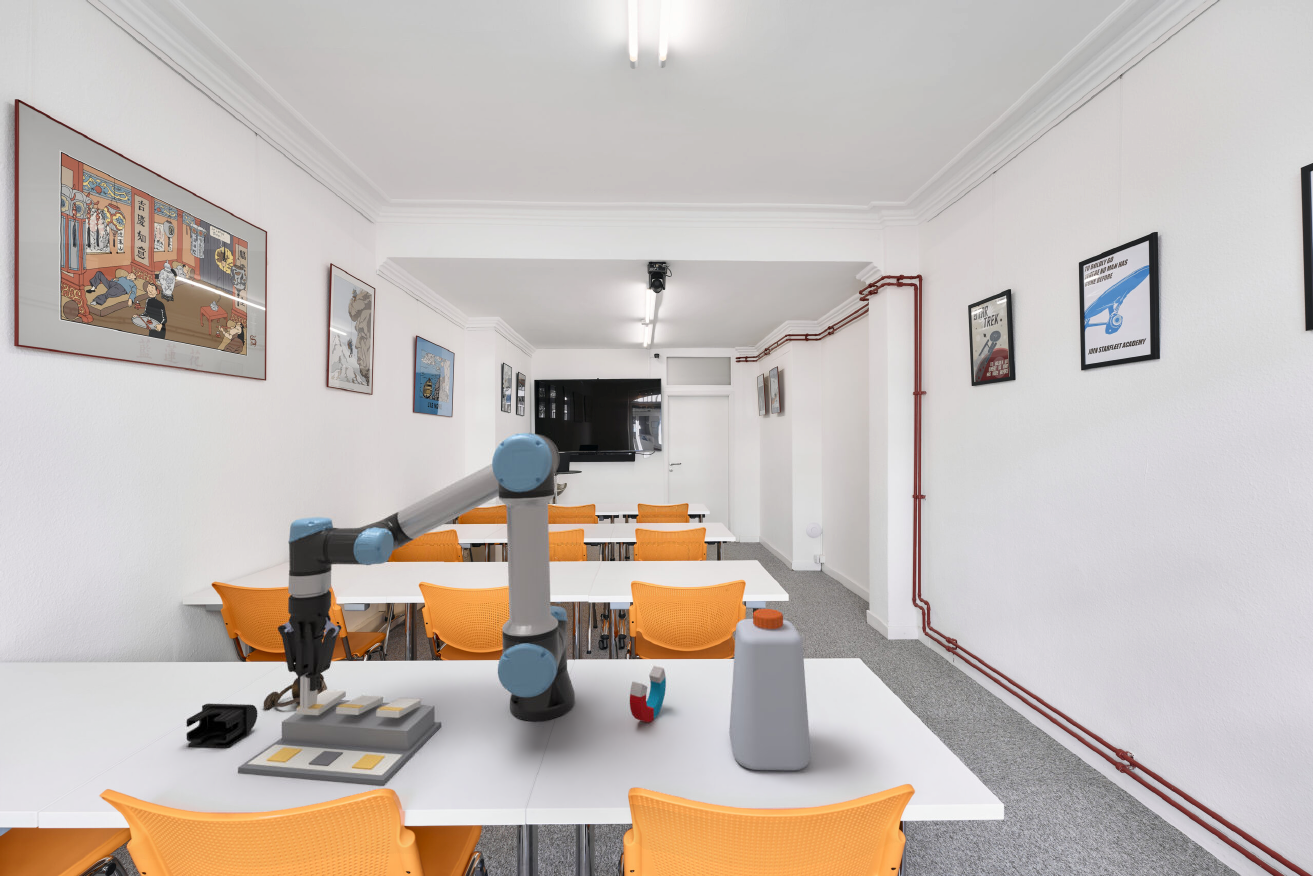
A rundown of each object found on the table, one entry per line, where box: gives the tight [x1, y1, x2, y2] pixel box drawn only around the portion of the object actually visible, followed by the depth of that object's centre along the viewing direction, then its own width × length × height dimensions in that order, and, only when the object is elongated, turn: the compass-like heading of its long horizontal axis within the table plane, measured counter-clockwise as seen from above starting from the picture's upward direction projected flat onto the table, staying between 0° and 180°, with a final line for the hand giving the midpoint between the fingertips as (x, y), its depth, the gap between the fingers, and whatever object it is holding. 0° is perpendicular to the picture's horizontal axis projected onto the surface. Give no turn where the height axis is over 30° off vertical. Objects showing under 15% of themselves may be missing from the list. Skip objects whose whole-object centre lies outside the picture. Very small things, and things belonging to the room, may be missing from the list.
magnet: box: [629, 665, 667, 723], centre depth 120 cm, size 12×3×10 cm, turn 150°
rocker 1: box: [296, 689, 347, 715], centre depth 114 cm, size 5×8×1 cm, turn 173°
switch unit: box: [237, 699, 442, 786], centre depth 109 cm, size 30×20×5 cm, turn 83°
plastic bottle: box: [728, 608, 812, 772], centre depth 108 cm, size 15×15×28 cm
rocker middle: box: [336, 695, 384, 715], centre depth 113 cm, size 5×8×1 cm, turn 173°
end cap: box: [186, 703, 258, 749], centre depth 113 cm, size 10×7×7 cm
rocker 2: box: [376, 697, 422, 718], centre depth 112 cm, size 5×8×1 cm, turn 173°
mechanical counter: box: [263, 673, 328, 710], centre depth 128 cm, size 7×13×10 cm
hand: (308, 705), depth 111 cm, fingers closed
